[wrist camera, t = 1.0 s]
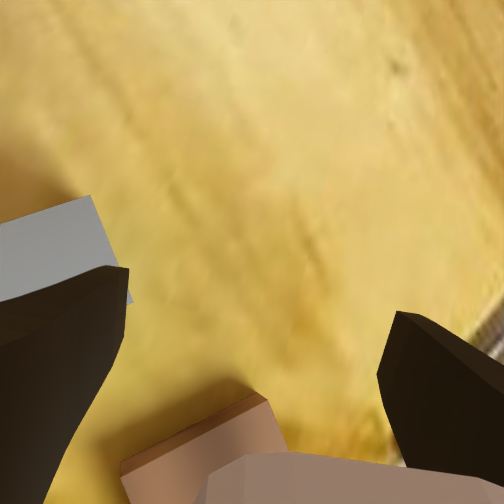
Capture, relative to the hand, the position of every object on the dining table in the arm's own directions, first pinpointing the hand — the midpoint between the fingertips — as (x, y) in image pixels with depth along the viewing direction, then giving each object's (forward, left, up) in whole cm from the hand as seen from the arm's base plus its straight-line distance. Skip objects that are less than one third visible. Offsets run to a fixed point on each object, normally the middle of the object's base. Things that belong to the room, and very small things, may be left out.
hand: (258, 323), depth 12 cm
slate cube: (-5, +4, -14) cm, 15 cm away
